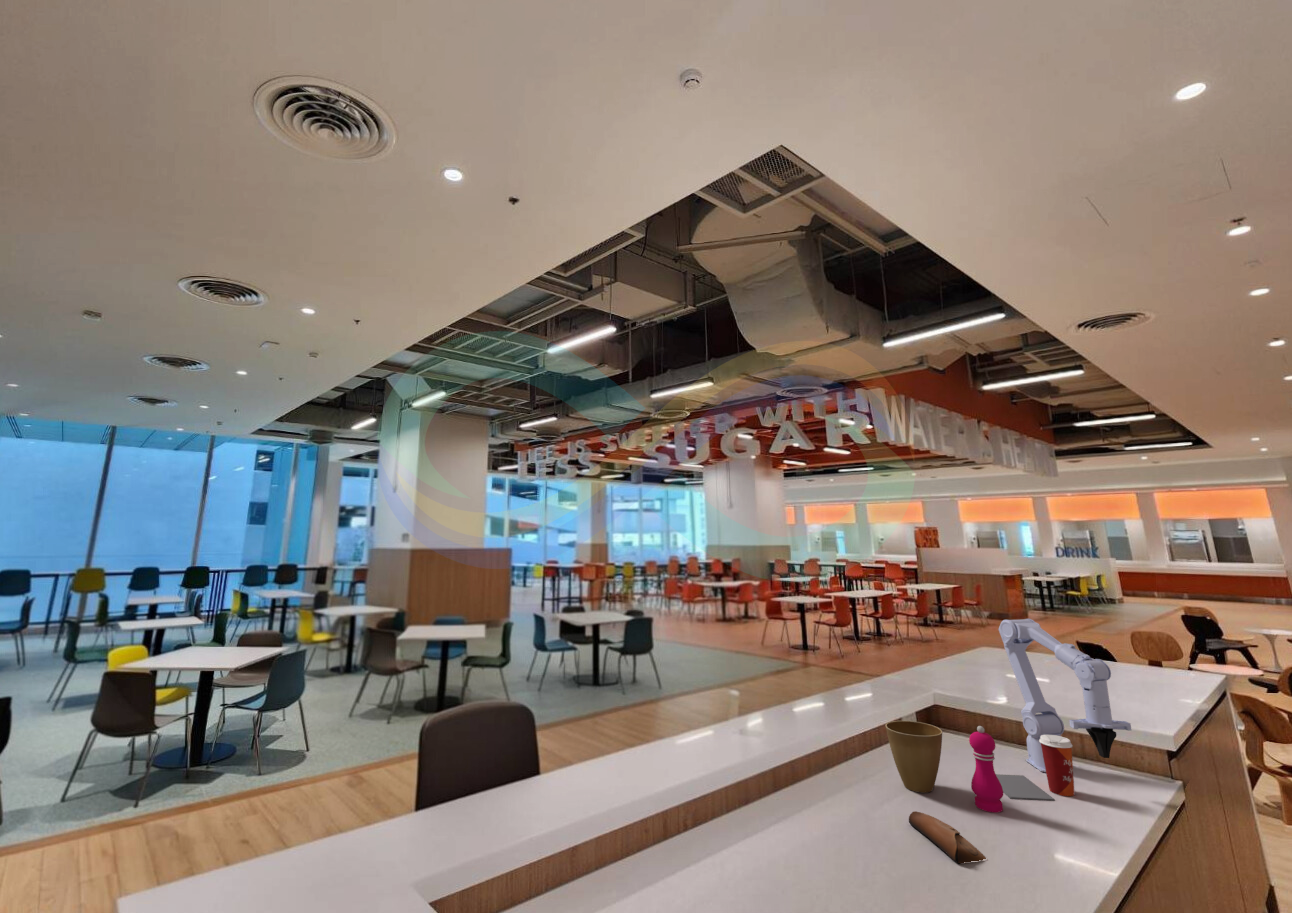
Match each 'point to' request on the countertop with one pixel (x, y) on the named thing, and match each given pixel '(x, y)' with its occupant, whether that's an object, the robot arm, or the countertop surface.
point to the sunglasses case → (945, 838)
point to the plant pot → (915, 753)
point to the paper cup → (1058, 764)
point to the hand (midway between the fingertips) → (1104, 756)
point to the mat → (1021, 788)
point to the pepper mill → (985, 773)
